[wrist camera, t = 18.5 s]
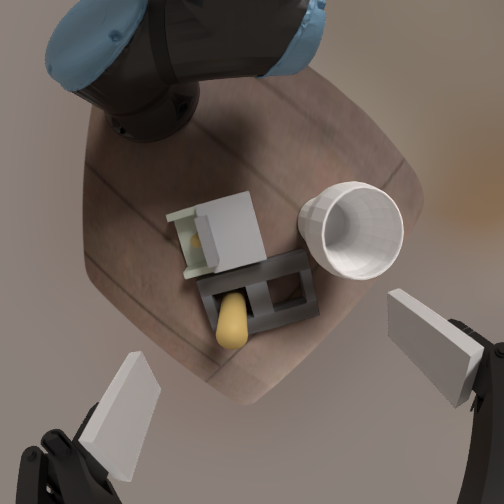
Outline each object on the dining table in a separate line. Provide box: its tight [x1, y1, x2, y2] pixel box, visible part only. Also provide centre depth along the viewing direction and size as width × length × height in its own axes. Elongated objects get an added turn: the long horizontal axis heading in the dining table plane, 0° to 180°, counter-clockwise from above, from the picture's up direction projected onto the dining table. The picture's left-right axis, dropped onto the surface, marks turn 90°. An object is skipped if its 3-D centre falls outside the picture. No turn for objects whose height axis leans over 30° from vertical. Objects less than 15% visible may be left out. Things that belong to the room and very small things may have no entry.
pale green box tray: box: [166, 206, 214, 279], centre depth 37 cm, size 9×11×4 cm
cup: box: [298, 181, 404, 280], centre depth 32 cm, size 11×11×15 cm
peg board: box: [196, 248, 320, 342], centre depth 40 cm, size 10×16×3 cm, turn 105°
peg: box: [216, 289, 248, 350], centre depth 35 cm, size 4×4×12 cm
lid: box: [194, 191, 267, 273], centre depth 33 cm, size 9×7×4 cm
